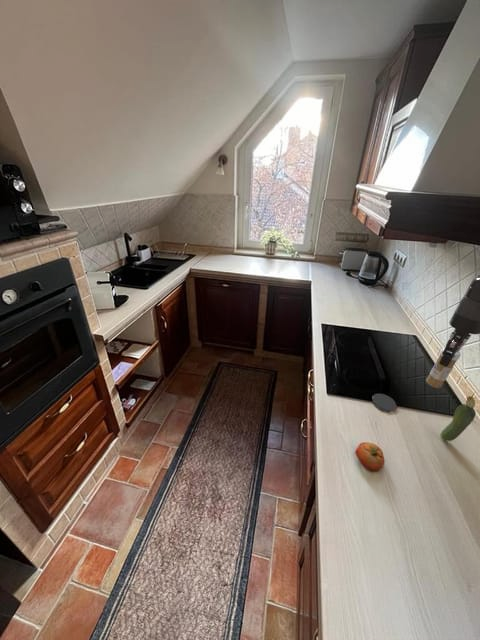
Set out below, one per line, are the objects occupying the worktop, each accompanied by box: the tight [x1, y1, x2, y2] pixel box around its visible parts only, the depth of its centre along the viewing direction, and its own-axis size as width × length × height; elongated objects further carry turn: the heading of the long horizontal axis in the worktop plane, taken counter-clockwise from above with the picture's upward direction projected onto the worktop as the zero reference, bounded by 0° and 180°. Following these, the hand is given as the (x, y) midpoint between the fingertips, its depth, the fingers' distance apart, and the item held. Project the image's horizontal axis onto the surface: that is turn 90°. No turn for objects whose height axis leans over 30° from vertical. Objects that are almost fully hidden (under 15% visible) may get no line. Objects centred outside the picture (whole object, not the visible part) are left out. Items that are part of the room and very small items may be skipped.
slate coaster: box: [371, 393, 397, 413], centre depth 94 cm, size 8×8×1 cm
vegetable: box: [439, 395, 477, 442], centre depth 76 cm, size 4×4×20 cm
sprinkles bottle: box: [425, 346, 462, 389], centre depth 80 cm, size 5×5×13 cm
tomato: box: [354, 442, 386, 473], centre depth 75 cm, size 8×7×7 cm
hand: (446, 361), depth 78 cm, fingers closed on sprinkles bottle, 4 cm apart
